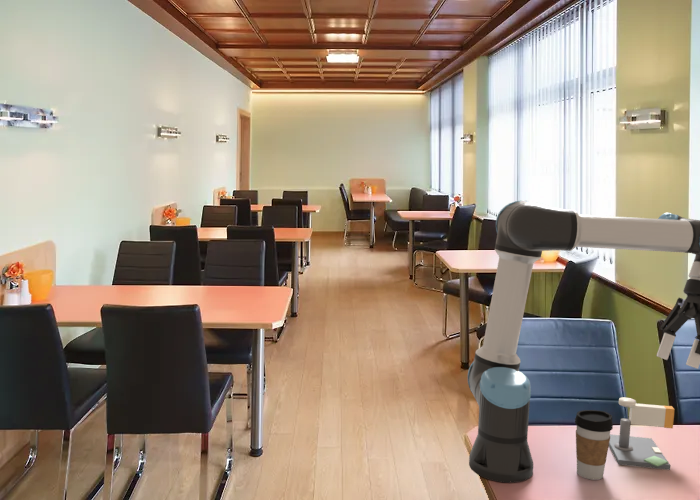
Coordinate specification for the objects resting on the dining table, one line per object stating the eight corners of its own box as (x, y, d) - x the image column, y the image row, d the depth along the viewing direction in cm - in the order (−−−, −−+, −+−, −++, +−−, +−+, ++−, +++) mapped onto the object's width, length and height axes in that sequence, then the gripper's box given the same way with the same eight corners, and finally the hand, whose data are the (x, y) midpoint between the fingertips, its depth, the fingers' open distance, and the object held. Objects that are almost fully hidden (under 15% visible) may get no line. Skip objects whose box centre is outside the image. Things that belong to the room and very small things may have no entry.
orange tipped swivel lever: (617, 448, 159) (621, 402, 157) (613, 441, 163) (617, 396, 161) (671, 453, 156) (676, 407, 155) (666, 447, 160) (670, 401, 159)
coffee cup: (612, 484, 143) (617, 422, 141) (574, 480, 145) (578, 419, 143) (604, 468, 151) (609, 409, 149) (568, 464, 153) (572, 405, 151)
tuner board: (619, 467, 152) (620, 461, 152) (604, 438, 169) (604, 432, 169) (672, 472, 150) (672, 466, 149) (651, 442, 167) (651, 437, 166)
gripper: (751, 289, 142) (721, 376, 142) (689, 286, 167) (663, 359, 167) (721, 278, 142) (690, 365, 142) (663, 276, 167) (637, 350, 166)
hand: (676, 362), depth 154 cm, fingers open, 13 cm apart
